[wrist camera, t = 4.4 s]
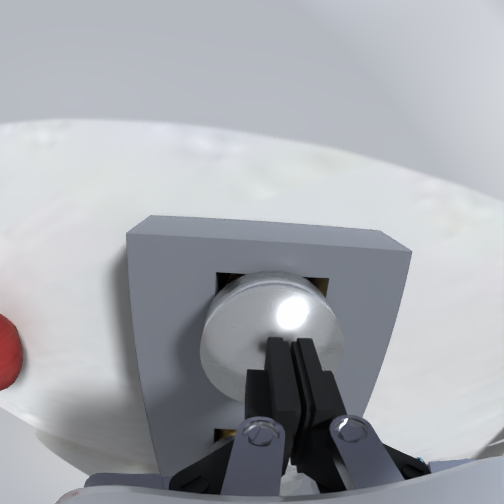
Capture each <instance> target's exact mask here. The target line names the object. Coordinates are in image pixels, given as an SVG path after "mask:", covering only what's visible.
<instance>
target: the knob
mask: <svg viewBox="0 0 504 504" xmlns="http://www.w3.org/2000/svg"><path fill="white" fill-rule="evenodd" d="M268 337H283V341H288V343H289V348H290V347H291V342H292V341H296V340H297V338H312V340H313V342H314V346H315V349H316V352H317V355H318V358H319V361H320V364H321V367H322V370H323V371H328V370H330V371H332V373H333V374H334V373H335V371H336V370H337V368H338V366H339V364H340V361H341V358H342V354H343V349H344V340H343V333H342V330H341V327H340V325H339V323H338V321H337V319H336V317H335V315H334V313H333V311H332V309H331V307H330V306H329V304H328V302H327V300H326V298H325V297H324V295H323V294H322V292H321V291H320V290H319V289H318V288H317V287H316V286H315V285H314V284H312V283H311V282H310V281H308V280H306V279H305V278H303V277H301V276H298V275H296V274H293V273H289V272H285V271H277V270H266V271H259V272H254V273H250V274H240V273H231V274H230V276H229V277H228V280H227V282H226V286H225V287H224V288H223V289H222V290H221V291H220V292H219V293H218V294H217V296H216V297H215V298H214V299H213V301H212V303H211V305H210V307H209V309H208V311H207V315H206V319H205V324H204V329H203V334H202V338H201V343H200V360H201V364H202V367H203V369H204V372H205V374H206V375H207V377H208V379H209V380H210V381H211V383H212V384H213V385H214V386H215V387H216V388H217V389H218V390H220V391H221V392H222V393H224V394H225V395H227V396H228V397H230V398H232V399H234V400H237V401H239V402H242V403H245V386H246V374H247V369H256V370H264V365H265V357H266V348H267V340H268Z"/></svg>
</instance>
